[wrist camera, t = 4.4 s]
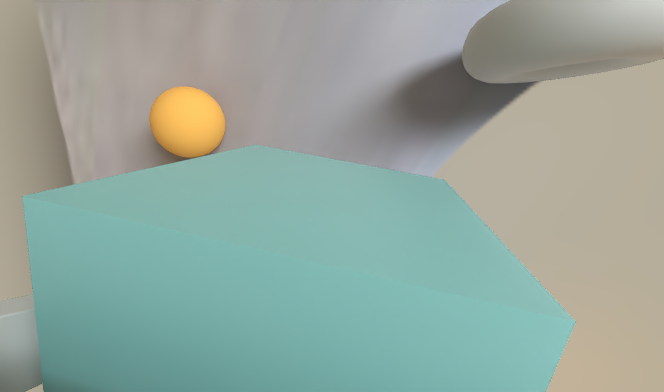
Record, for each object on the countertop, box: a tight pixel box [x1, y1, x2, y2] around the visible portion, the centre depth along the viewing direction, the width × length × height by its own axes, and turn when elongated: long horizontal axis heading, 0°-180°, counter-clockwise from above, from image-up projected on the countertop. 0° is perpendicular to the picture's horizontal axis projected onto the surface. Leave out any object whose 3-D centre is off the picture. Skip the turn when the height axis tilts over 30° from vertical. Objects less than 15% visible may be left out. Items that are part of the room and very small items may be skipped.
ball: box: [149, 87, 225, 158], centre depth 23 cm, size 5×5×5 cm
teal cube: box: [22, 145, 576, 392], centre depth 9 cm, size 8×8×9 cm
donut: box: [462, 0, 664, 83], centre depth 16 cm, size 10×3×10 cm, turn 95°
